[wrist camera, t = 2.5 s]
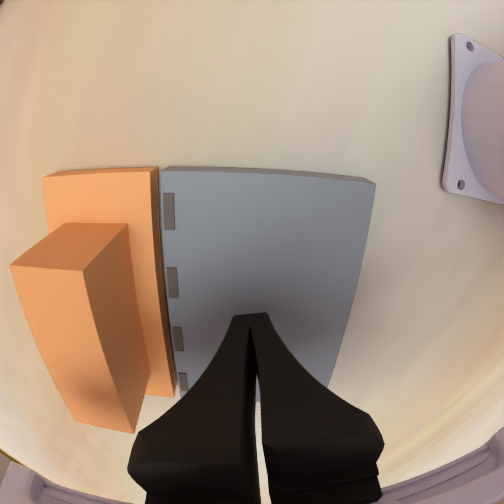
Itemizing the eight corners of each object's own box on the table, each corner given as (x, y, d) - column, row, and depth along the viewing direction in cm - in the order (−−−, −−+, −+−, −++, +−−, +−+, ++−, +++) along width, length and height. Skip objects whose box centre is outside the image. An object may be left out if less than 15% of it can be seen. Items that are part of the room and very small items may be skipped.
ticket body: (364, 178, 12) (376, 184, 11) (319, 384, 17) (323, 400, 15) (168, 166, 11) (159, 171, 10) (183, 382, 16) (180, 399, 15)
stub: (157, 167, 11) (105, 199, 7) (176, 383, 16) (163, 457, 11) (55, 172, 11) (-22, 205, 6) (99, 373, 16) (72, 437, 11)
